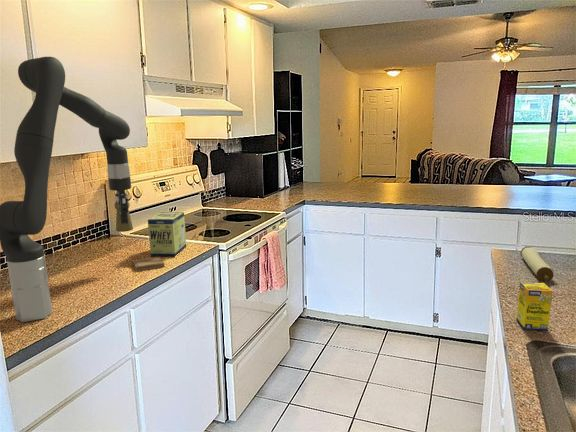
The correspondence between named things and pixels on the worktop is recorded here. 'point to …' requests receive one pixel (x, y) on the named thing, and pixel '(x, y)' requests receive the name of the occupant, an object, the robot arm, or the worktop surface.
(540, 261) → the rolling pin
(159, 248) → the protein box
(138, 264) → the brown square tray
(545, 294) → the supplement box
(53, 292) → the worktop surface
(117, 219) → the cork
